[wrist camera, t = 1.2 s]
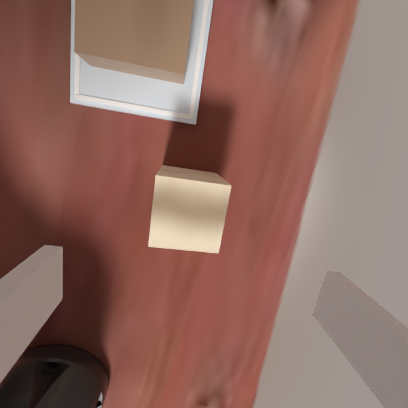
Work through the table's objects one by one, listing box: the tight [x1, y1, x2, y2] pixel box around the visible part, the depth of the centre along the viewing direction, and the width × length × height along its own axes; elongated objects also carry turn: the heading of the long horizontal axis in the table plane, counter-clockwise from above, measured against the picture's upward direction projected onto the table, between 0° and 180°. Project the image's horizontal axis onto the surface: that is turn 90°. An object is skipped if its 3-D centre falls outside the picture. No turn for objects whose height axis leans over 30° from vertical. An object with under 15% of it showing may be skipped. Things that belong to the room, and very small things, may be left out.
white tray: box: [70, 0, 213, 125], centre depth 23 cm, size 18×14×5 cm
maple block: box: [148, 165, 231, 253], centre depth 26 cm, size 7×7×9 cm
